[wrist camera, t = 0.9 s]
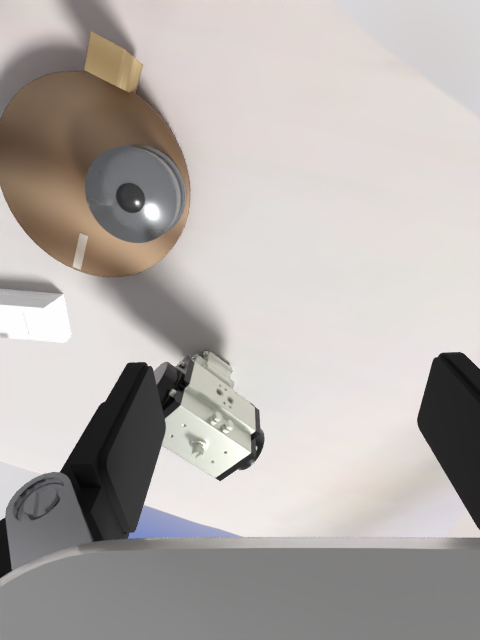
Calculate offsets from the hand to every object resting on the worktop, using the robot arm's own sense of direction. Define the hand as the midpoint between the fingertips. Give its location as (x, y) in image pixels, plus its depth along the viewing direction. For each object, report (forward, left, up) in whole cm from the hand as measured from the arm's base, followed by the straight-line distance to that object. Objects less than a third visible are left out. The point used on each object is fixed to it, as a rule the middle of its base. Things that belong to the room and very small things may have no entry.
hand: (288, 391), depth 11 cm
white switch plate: (-24, -10, -22) cm, 34 cm away
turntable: (-14, +4, -20) cm, 25 cm away
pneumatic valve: (-4, -15, -21) cm, 26 cm away
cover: (-10, +3, -19) cm, 22 cm away
